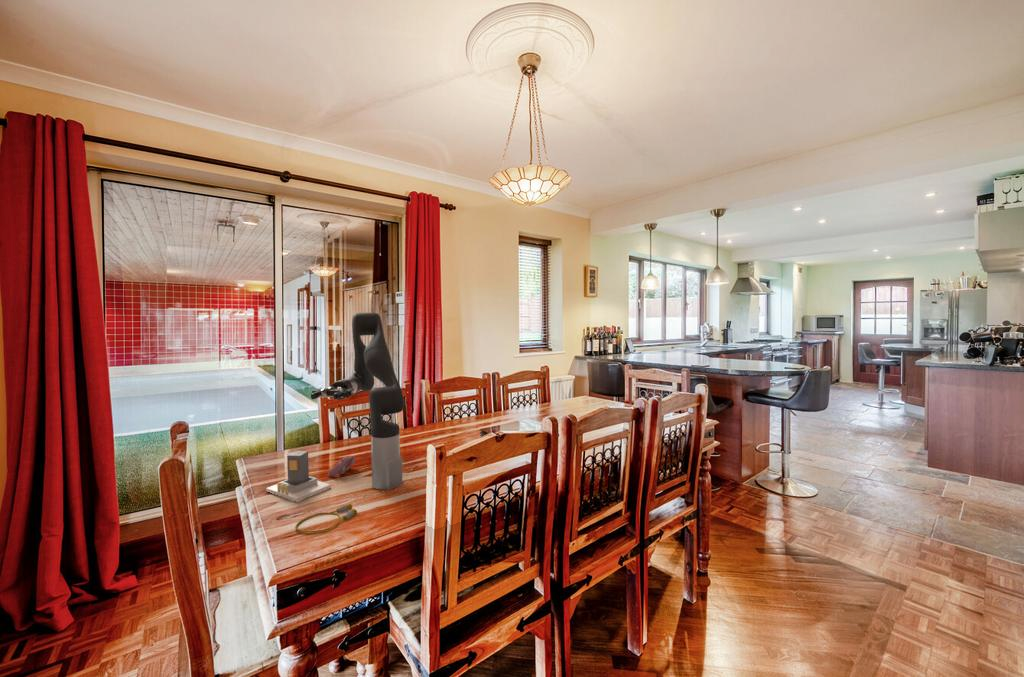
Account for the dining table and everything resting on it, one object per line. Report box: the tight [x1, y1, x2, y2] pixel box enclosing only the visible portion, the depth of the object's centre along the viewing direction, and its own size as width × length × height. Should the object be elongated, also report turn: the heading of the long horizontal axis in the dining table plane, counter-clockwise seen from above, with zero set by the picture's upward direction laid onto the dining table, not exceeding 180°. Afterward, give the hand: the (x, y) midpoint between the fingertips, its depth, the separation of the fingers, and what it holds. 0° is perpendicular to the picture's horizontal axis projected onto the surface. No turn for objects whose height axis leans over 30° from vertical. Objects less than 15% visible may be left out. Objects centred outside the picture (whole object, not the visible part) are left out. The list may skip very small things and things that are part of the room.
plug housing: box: [286, 450, 310, 486], centre depth 134 cm, size 4×5×11 cm
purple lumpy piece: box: [327, 455, 356, 478], centre depth 149 cm, size 10×5×7 cm, turn 169°
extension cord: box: [294, 503, 358, 535], centre depth 114 cm, size 12×16×2 cm
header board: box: [265, 475, 332, 503], centre depth 134 cm, size 16×12×4 cm
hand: (323, 396), depth 150 cm, fingers open, 8 cm apart
